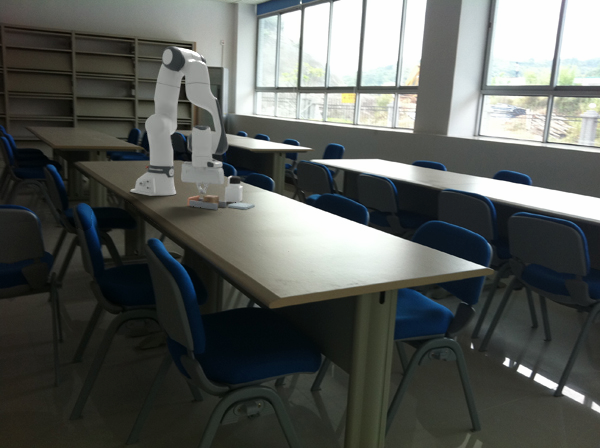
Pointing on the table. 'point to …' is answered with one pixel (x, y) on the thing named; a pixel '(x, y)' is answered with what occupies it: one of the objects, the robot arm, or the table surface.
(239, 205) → the tile
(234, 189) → the medicine bottle
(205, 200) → the block
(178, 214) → the table surface
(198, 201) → the channel
